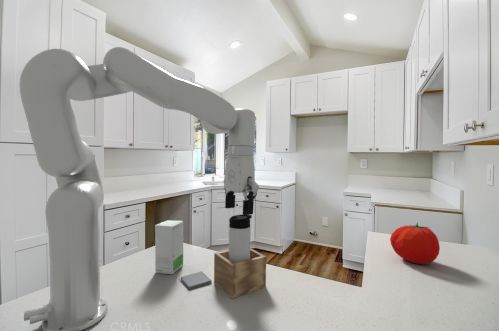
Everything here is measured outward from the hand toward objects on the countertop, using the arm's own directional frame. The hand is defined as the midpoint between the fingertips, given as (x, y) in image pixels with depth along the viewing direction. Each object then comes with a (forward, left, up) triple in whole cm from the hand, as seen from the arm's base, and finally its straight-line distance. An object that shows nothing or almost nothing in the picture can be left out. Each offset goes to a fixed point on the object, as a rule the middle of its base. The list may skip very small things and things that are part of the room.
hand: (238, 210), depth 74 cm
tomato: (+64, -21, -22) cm, 71 cm away
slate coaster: (-9, +9, -22) cm, 26 cm away
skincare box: (-13, +22, -22) cm, 34 cm away
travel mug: (0, -1, -21) cm, 21 cm away
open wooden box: (+1, 0, -22) cm, 22 cm away
